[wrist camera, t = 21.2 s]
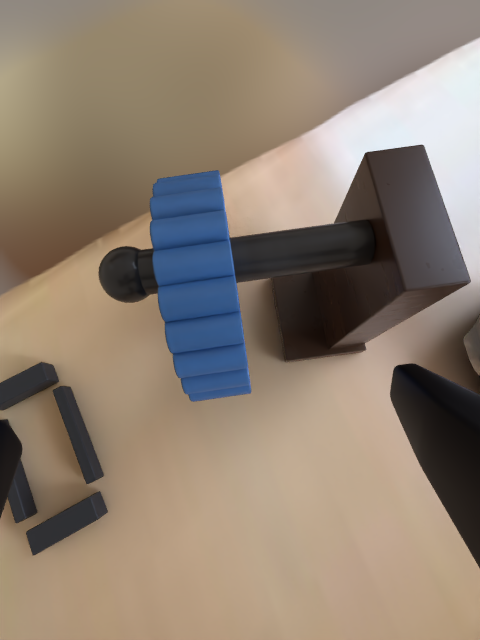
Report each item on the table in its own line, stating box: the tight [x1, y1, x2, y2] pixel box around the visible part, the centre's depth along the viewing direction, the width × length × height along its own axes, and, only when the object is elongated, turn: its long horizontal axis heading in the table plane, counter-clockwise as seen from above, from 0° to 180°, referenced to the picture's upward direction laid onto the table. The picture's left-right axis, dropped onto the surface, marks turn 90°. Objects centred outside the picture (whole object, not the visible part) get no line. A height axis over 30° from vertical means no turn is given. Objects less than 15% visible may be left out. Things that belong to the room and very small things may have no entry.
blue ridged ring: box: [150, 170, 251, 402], centre depth 14 cm, size 9×2×9 cm, turn 8°
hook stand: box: [99, 145, 471, 363], centre depth 15 cm, size 12×6×11 cm, turn 98°
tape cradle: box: [0, 362, 108, 555], centre depth 18 cm, size 9×5×1 cm, turn 28°
